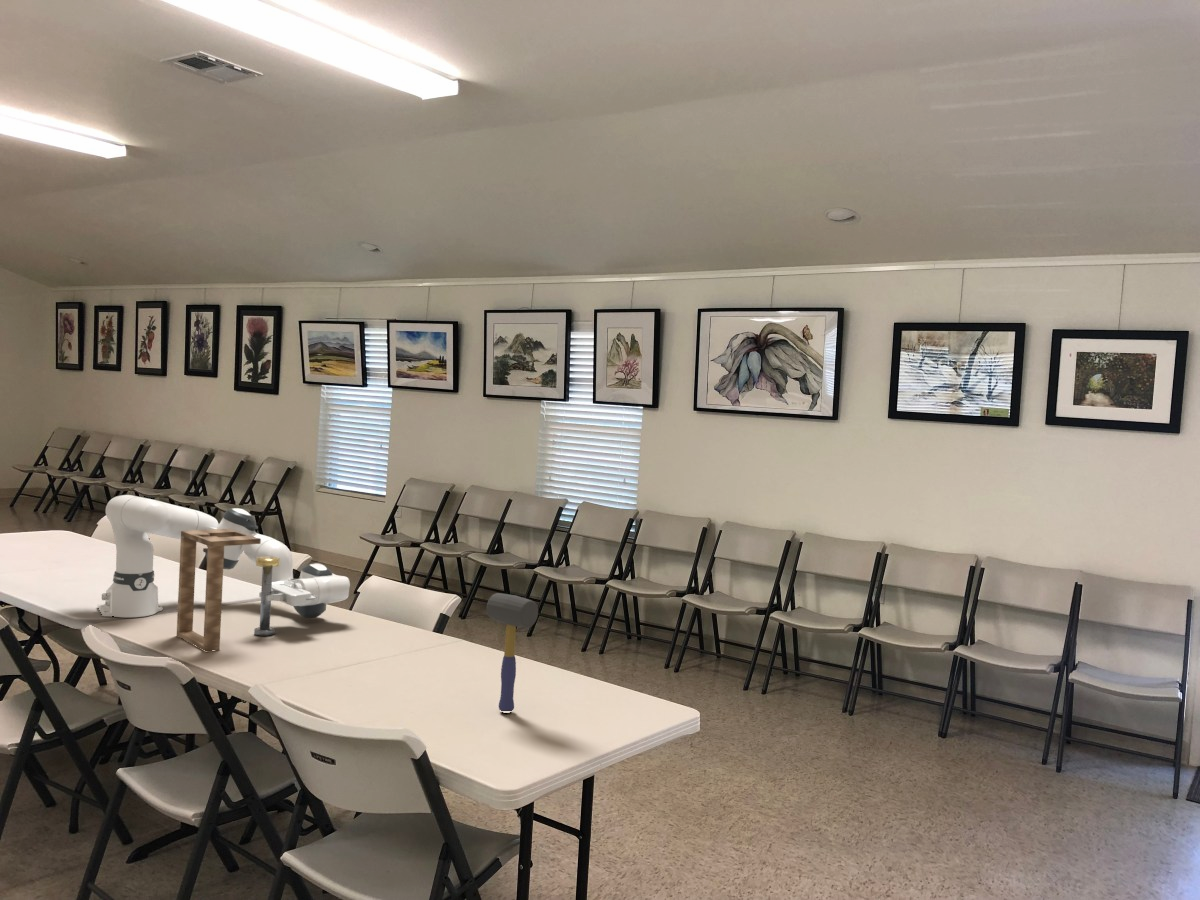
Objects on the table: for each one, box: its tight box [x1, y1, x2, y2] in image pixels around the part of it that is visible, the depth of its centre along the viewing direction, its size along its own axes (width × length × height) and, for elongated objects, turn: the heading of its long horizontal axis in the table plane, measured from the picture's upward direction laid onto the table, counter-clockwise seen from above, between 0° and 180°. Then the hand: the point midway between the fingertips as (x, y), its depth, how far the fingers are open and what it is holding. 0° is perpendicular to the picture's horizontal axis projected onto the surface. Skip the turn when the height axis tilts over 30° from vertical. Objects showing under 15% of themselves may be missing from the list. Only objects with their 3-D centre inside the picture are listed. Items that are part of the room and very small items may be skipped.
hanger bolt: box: [253, 557, 280, 637], centre depth 298 cm, size 7×7×24 cm
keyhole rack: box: [176, 529, 261, 652], centre depth 287 cm, size 15×22×32 cm
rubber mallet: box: [486, 592, 539, 712], centre depth 238 cm, size 12×8×30 cm, turn 54°
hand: (263, 596), depth 297 cm, fingers closed on hanger bolt, 3 cm apart
